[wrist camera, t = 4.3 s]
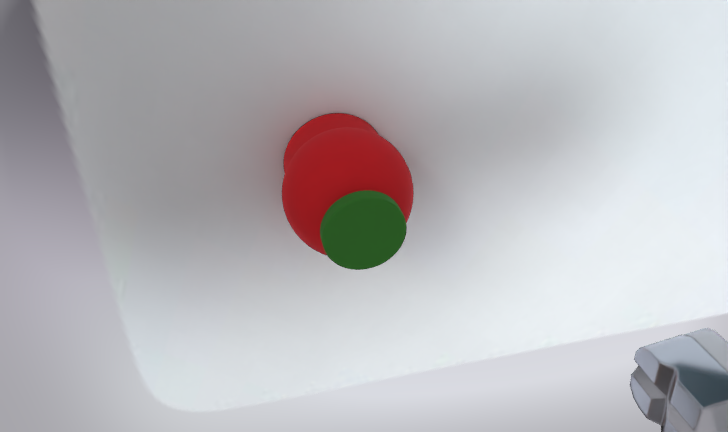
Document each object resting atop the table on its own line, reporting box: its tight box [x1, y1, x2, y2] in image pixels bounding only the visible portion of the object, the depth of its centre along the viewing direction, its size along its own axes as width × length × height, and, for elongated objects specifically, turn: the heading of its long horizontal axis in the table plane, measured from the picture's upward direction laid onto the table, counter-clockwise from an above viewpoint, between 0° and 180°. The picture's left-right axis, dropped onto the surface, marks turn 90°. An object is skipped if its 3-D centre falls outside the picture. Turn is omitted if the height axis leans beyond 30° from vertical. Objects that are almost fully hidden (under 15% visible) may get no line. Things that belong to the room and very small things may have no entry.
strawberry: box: [282, 113, 413, 270], centre depth 18 cm, size 4×4×5 cm
